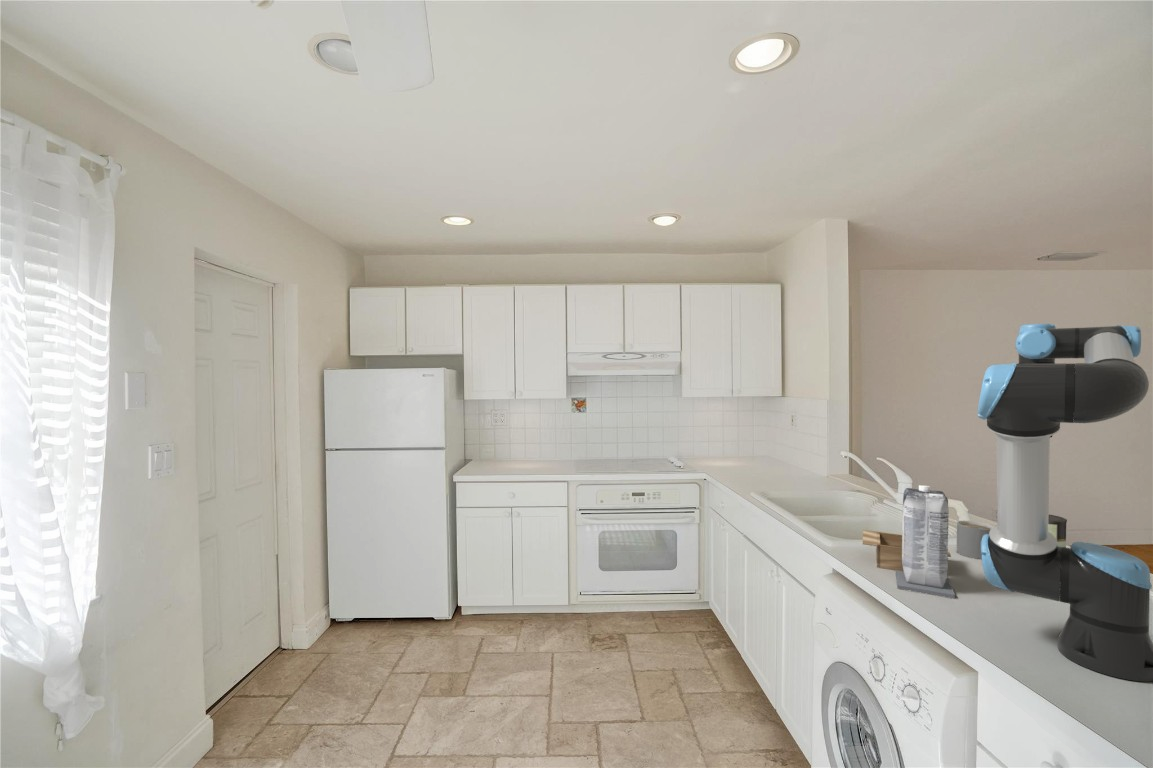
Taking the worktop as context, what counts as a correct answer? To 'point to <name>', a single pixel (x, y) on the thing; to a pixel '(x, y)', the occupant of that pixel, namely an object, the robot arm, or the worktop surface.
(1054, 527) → the coffee can
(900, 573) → the mat
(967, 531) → the coffee mug
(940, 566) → the juice carton
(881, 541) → the crate
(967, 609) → the worktop surface
